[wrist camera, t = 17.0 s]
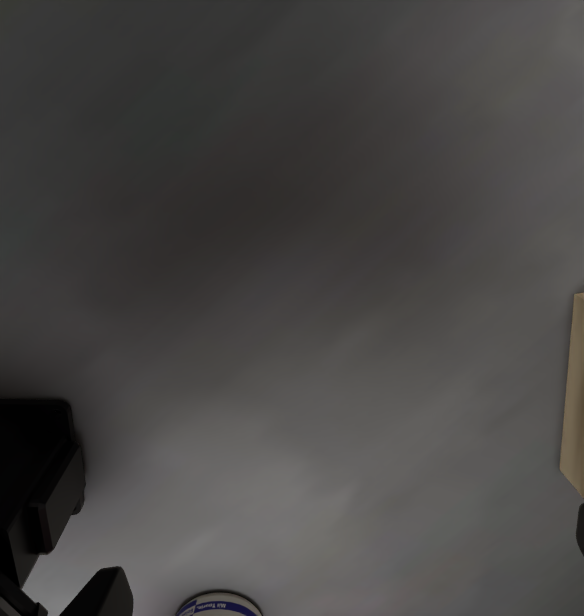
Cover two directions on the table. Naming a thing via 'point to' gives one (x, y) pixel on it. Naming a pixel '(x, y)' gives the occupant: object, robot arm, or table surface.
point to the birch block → (575, 403)
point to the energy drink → (219, 606)
